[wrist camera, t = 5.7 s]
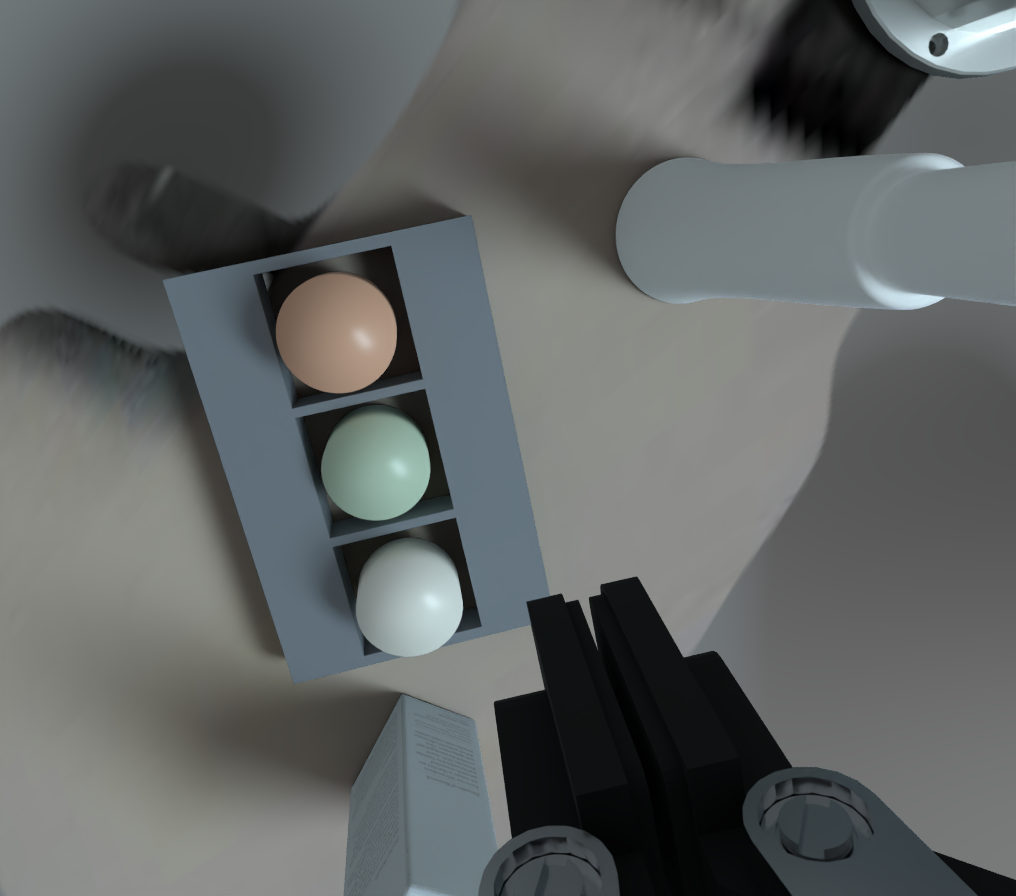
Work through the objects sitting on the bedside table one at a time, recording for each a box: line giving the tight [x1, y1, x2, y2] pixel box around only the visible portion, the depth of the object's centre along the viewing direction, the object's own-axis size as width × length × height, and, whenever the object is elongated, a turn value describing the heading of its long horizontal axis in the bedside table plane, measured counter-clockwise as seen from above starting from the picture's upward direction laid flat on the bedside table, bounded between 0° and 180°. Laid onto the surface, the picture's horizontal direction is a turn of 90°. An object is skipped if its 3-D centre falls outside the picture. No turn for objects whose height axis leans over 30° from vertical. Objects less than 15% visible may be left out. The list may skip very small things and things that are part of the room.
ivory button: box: [356, 538, 463, 657], centre depth 33 cm, size 4×4×2 cm
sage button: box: [321, 405, 430, 521], centre depth 33 cm, size 4×4×2 cm
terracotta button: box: [276, 271, 397, 393], centre depth 30 cm, size 4×4×2 cm
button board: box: [163, 215, 550, 684], centre depth 34 cm, size 12×18×2 cm, turn 12°
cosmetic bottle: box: [616, 153, 1016, 310], centre depth 23 cm, size 6×6×22 cm
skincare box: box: [344, 694, 498, 896], centre depth 33 cm, size 6×4×12 cm
